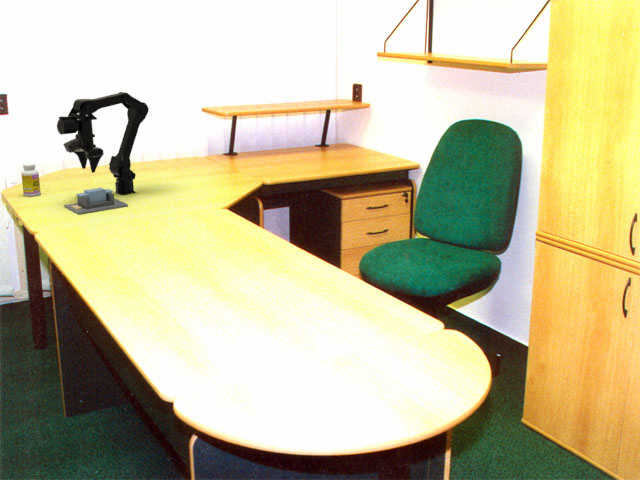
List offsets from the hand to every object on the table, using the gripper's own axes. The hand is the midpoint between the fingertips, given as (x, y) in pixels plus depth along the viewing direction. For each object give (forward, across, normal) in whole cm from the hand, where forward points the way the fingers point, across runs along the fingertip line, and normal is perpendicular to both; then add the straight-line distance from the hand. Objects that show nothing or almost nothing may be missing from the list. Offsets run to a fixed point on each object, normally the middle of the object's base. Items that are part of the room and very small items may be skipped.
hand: (88, 170), depth 287 cm
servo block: (+11, +12, -3) cm, 17 cm away
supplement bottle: (+12, -22, -16) cm, 30 cm away
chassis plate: (+12, +12, -3) cm, 17 cm away
